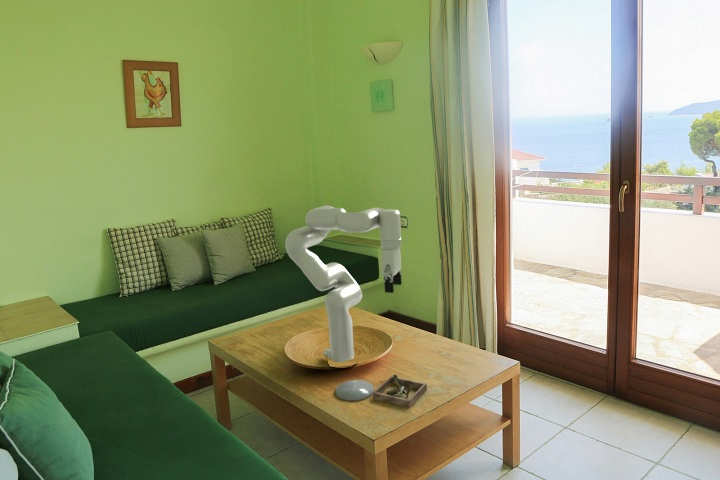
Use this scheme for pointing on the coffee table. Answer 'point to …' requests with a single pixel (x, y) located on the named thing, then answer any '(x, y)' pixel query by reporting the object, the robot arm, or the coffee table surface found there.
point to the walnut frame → (396, 400)
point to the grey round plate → (354, 390)
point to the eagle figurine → (400, 389)
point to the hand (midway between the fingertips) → (393, 288)
